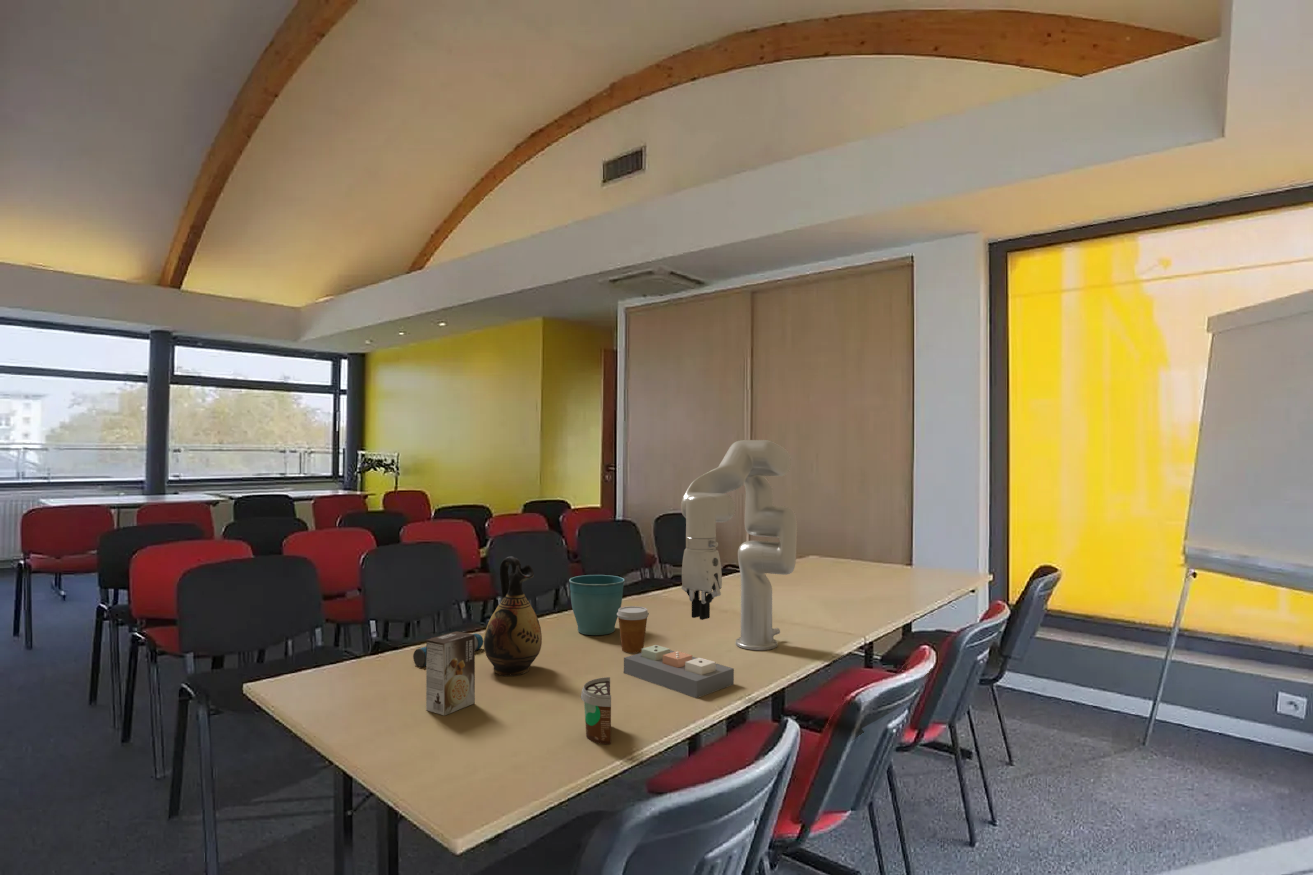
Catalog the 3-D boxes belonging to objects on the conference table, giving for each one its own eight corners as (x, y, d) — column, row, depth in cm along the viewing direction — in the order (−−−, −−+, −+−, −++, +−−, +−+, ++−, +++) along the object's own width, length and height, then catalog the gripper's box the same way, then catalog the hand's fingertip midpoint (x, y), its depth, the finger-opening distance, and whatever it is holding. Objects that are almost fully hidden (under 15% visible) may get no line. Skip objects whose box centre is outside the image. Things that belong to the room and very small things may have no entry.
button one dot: (699, 670, 176) (699, 656, 176) (715, 675, 172) (715, 661, 172) (685, 675, 172) (685, 661, 172) (701, 680, 169) (701, 665, 169)
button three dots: (677, 663, 182) (677, 650, 182) (692, 668, 178) (692, 654, 178) (662, 668, 178) (662, 654, 178) (677, 673, 174) (677, 658, 174)
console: (661, 661, 192) (661, 647, 192) (733, 684, 174) (733, 668, 174) (623, 672, 182) (623, 657, 182) (696, 698, 164) (696, 681, 164)
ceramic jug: (553, 670, 185) (554, 558, 185) (505, 683, 173) (506, 564, 174) (516, 657, 196) (517, 551, 197) (468, 669, 185) (469, 557, 186)
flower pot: (593, 621, 237) (594, 572, 238) (635, 630, 227) (635, 578, 227) (557, 632, 223) (557, 580, 223) (599, 642, 212) (599, 586, 213)
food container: (581, 723, 148) (581, 677, 148) (609, 723, 148) (610, 676, 149) (579, 748, 136) (580, 697, 136) (610, 747, 136) (611, 696, 136)
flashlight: (412, 665, 188) (412, 647, 189) (474, 647, 206) (475, 630, 207) (424, 669, 186) (424, 650, 186) (486, 650, 204) (486, 633, 204)
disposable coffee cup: (611, 652, 201) (611, 611, 201) (624, 644, 210) (624, 604, 210) (641, 656, 197) (641, 614, 198) (653, 647, 206) (653, 607, 206)
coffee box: (456, 698, 163) (457, 630, 163) (475, 703, 159) (476, 634, 160) (424, 710, 155) (425, 639, 155) (444, 716, 152) (445, 643, 152)
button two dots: (655, 657, 188) (656, 644, 188) (670, 661, 184) (670, 648, 184) (641, 661, 184) (641, 648, 184) (655, 666, 180) (655, 652, 180)
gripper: (734, 546, 170) (734, 621, 170) (687, 540, 181) (687, 610, 181) (715, 549, 165) (714, 626, 164) (667, 542, 176) (667, 614, 176)
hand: (700, 617), depth 173 cm, fingers closed
